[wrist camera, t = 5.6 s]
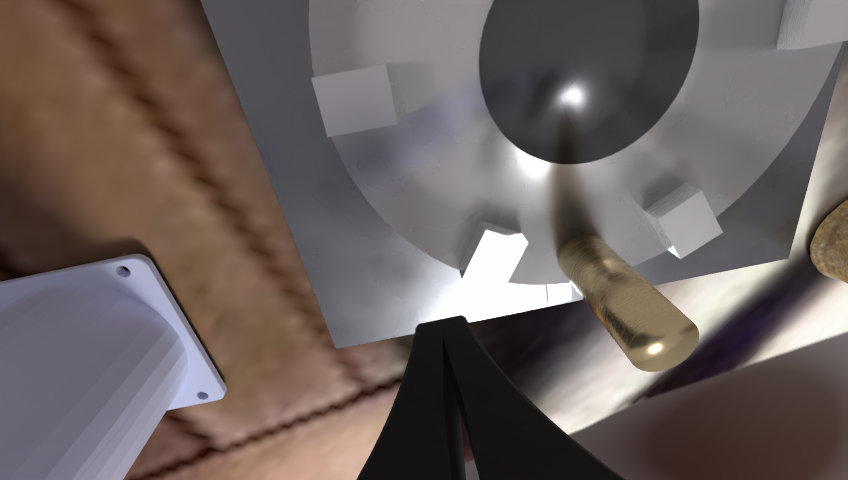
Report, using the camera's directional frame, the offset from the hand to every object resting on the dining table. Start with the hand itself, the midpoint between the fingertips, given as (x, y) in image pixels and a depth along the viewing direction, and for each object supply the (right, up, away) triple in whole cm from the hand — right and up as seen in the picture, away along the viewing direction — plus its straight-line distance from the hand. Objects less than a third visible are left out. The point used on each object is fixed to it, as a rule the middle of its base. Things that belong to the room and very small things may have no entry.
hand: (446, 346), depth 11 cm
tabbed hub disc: (+3, +9, +1) cm, 10 cm away
